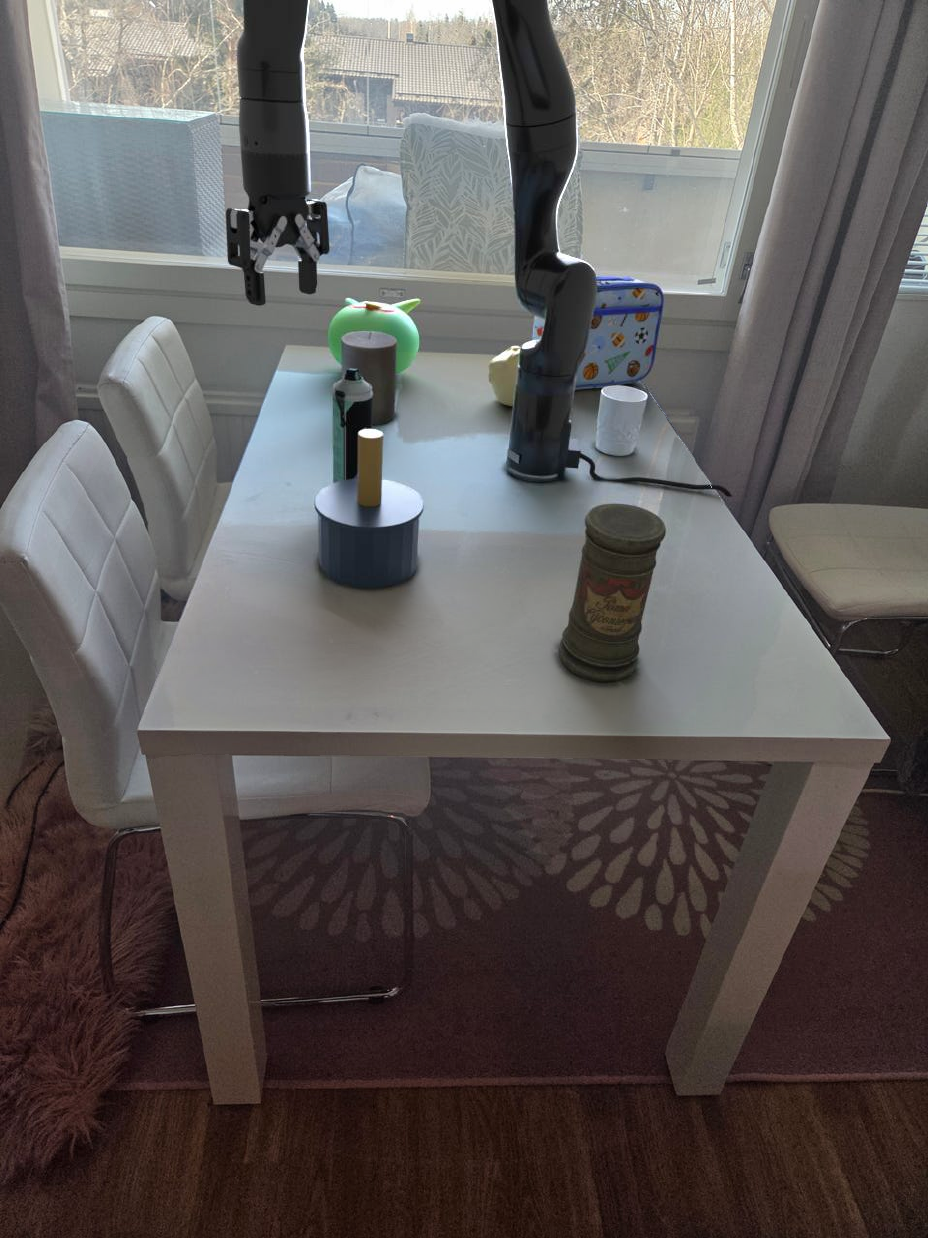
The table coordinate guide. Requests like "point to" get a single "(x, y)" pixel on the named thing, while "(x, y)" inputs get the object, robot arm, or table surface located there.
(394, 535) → the tin
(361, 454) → the lid
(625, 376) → the lunch box
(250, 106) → the robot arm
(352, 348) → the pillar candle
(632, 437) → the white cup
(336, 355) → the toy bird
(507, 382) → the sculpture
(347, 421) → the spray can
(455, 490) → the table surface
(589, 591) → the container
